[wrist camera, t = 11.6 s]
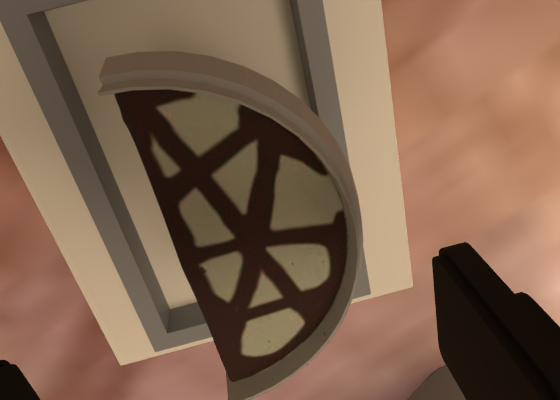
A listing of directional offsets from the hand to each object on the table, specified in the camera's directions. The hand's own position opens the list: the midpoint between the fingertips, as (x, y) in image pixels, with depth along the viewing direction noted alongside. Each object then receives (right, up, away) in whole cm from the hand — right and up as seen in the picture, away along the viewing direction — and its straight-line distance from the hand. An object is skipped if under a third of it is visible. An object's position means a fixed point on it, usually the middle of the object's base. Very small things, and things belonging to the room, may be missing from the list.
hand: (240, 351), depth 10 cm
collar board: (-2, +6, +13) cm, 15 cm away
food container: (-1, +6, +12) cm, 14 cm away
